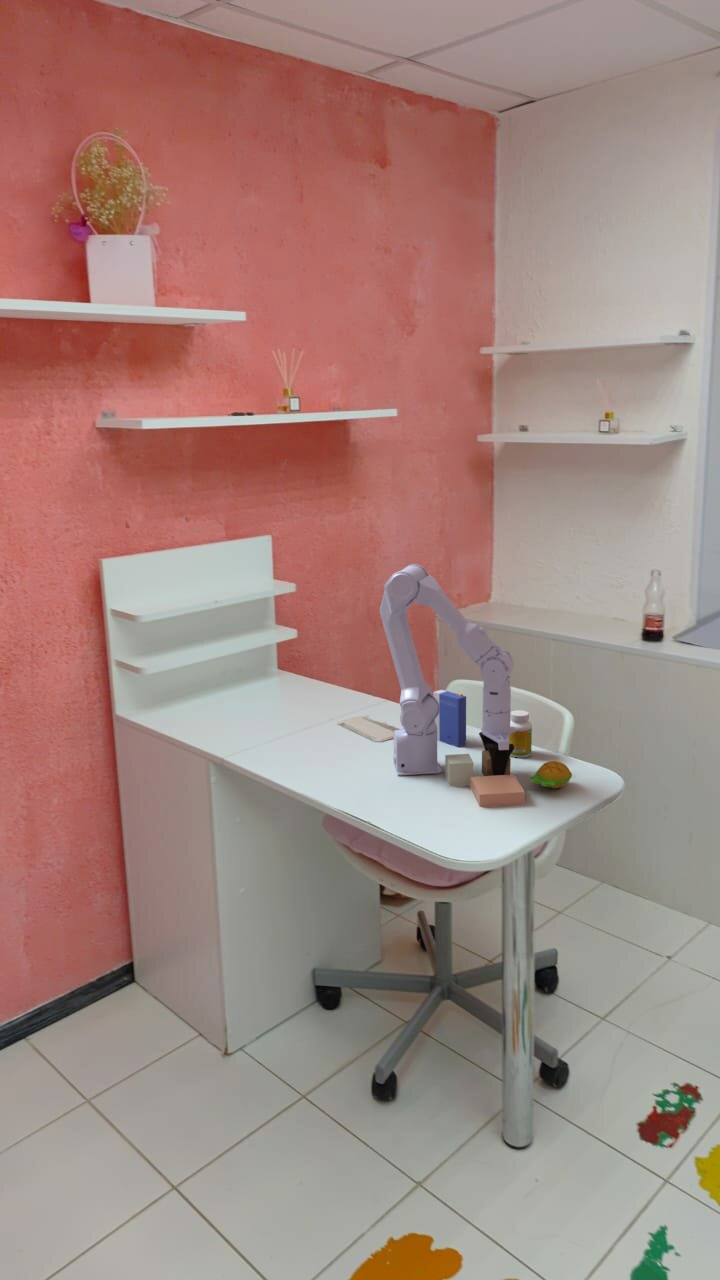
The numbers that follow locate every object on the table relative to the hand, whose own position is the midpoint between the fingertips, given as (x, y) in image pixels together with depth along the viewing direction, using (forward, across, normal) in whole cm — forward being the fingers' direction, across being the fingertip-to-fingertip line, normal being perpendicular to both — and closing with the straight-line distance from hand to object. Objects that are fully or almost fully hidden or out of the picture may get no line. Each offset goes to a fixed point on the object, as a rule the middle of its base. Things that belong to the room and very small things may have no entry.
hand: (495, 770), depth 203 cm
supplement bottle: (+2, +12, -8) cm, 15 cm away
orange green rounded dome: (+2, -8, -10) cm, 12 cm away
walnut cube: (+1, 0, 0) cm, 1 cm away
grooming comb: (+2, +34, +23) cm, 41 cm away
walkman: (+2, +22, +6) cm, 23 cm away
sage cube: (+2, -1, +8) cm, 8 cm away
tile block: (+2, -10, +2) cm, 10 cm away
